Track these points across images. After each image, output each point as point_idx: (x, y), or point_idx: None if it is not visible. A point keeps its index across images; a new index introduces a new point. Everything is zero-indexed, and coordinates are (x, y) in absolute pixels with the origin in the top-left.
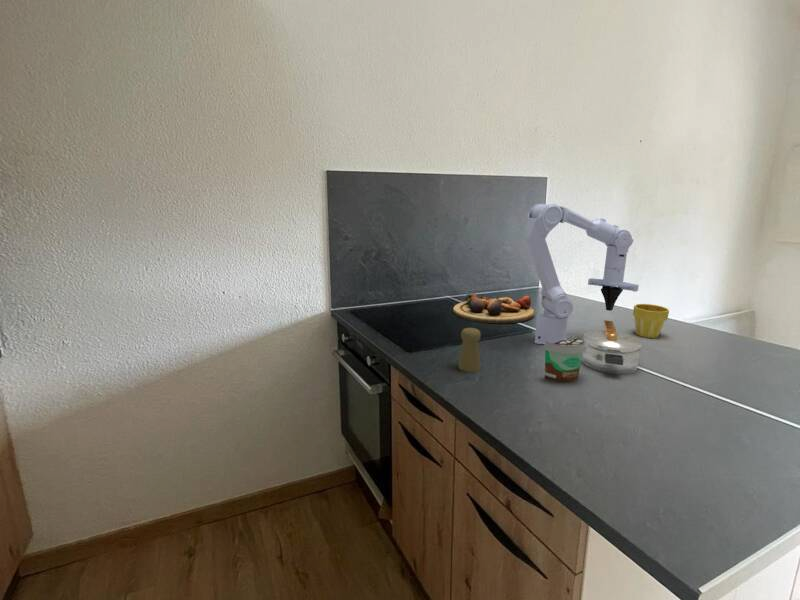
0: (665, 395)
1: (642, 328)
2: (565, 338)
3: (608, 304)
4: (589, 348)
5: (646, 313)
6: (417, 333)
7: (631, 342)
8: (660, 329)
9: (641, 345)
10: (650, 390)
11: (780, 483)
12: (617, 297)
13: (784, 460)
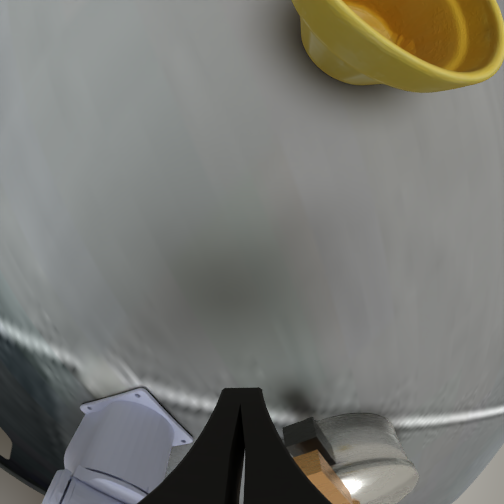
0: (429, 463)
1: (363, 80)
2: (143, 394)
3: (241, 462)
4: None
5: (436, 84)
6: (21, 464)
7: (394, 490)
8: (420, 42)
9: (416, 481)
10: None
11: (470, 482)
12: (302, 481)
13: (487, 462)
